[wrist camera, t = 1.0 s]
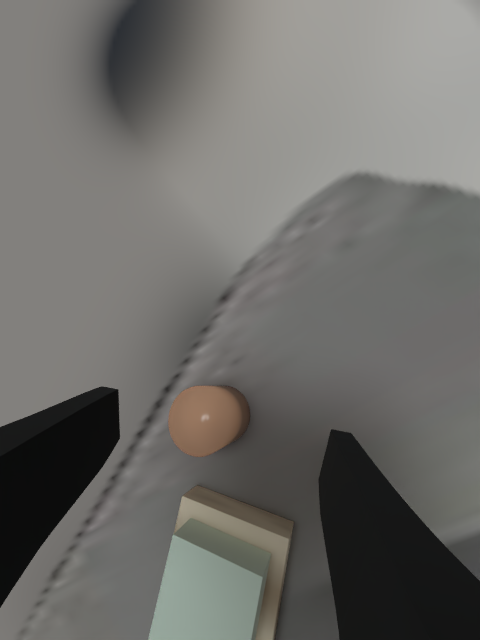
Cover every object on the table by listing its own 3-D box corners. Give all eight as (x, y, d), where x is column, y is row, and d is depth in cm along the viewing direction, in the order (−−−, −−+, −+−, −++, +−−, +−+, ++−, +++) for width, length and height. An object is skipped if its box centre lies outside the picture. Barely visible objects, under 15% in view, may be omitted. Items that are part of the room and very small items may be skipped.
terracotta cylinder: (243, 449, 23) (221, 466, 18) (193, 433, 25) (161, 445, 20) (255, 392, 24) (236, 394, 19) (205, 380, 25) (177, 379, 21)
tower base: (274, 641, 20) (265, 683, 17) (176, 589, 23) (154, 618, 20) (294, 519, 21) (289, 539, 18) (199, 483, 24) (182, 496, 21)
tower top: (251, 658, 18) (239, 700, 15) (169, 611, 20) (147, 641, 17) (271, 553, 19) (262, 577, 16) (190, 517, 21) (173, 534, 18)
